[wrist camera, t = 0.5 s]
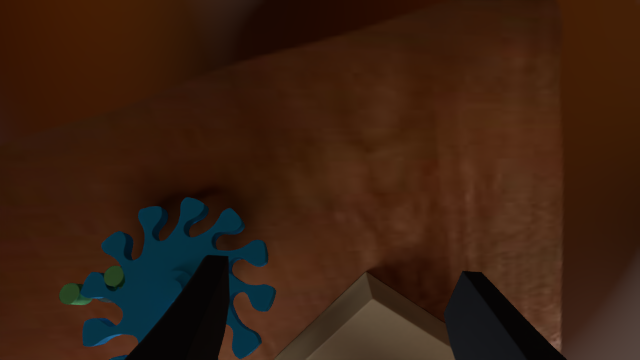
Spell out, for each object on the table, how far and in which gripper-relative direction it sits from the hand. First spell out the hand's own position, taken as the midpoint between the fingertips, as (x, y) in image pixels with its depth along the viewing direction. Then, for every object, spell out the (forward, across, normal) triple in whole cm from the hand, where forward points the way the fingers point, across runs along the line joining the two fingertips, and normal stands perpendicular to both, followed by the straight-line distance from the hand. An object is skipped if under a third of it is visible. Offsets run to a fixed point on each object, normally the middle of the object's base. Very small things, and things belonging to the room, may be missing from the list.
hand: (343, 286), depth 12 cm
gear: (+10, +8, +8) cm, 15 cm away
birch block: (+9, -5, +16) cm, 19 cm away
